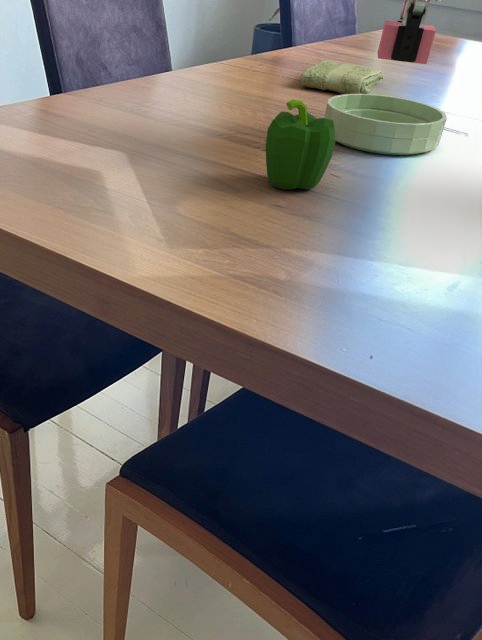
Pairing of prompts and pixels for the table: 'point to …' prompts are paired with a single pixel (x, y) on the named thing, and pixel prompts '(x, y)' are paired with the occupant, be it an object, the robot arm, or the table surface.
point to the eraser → (390, 36)
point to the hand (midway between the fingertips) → (402, 56)
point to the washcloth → (341, 77)
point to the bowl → (385, 123)
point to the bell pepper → (298, 148)
